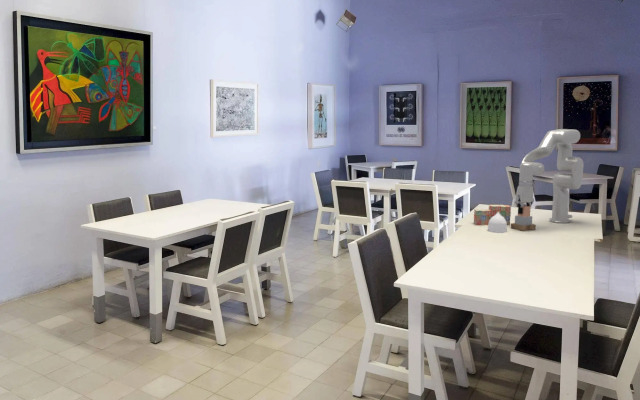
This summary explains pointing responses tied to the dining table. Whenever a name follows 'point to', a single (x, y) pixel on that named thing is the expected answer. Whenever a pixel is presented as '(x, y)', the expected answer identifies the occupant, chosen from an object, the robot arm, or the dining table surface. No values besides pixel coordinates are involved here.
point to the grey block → (523, 220)
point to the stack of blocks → (491, 214)
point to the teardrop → (497, 224)
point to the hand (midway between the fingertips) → (523, 213)
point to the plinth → (523, 227)
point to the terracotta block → (525, 211)
